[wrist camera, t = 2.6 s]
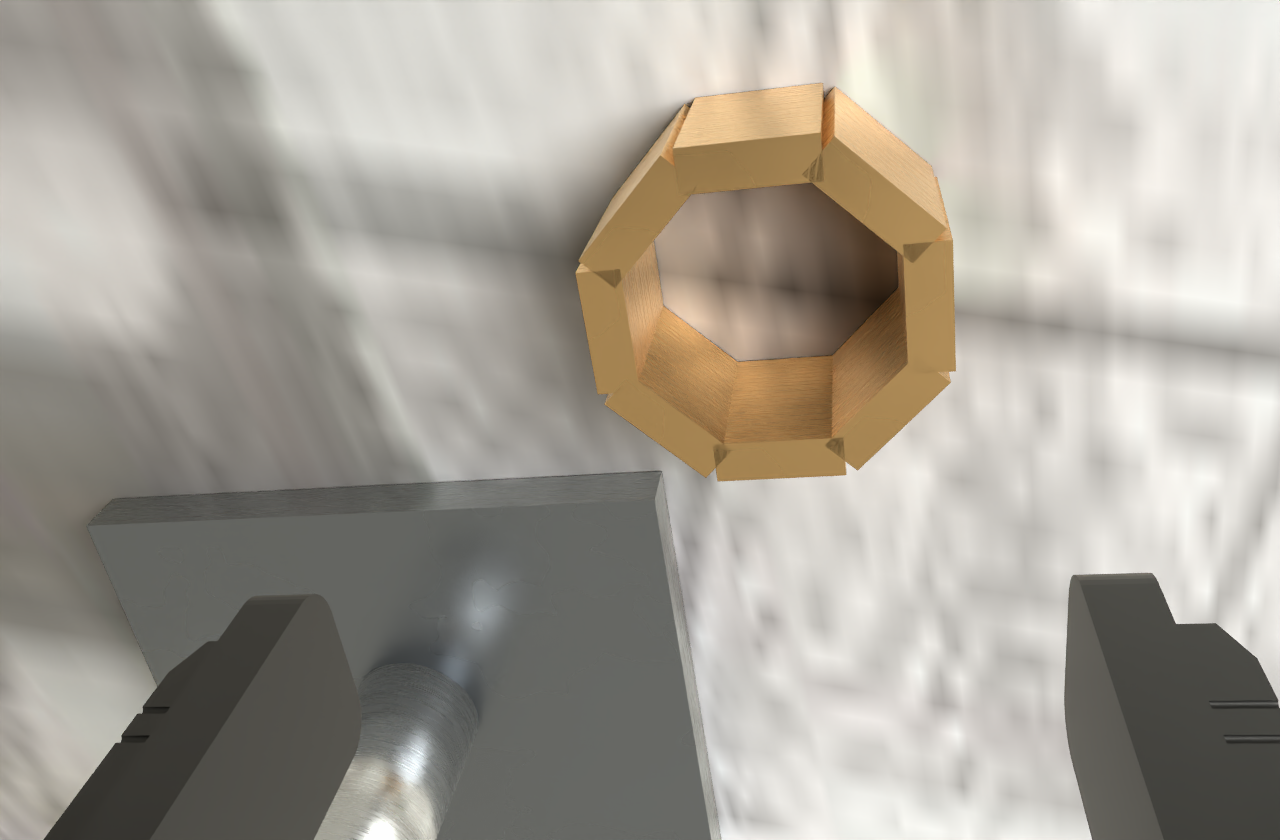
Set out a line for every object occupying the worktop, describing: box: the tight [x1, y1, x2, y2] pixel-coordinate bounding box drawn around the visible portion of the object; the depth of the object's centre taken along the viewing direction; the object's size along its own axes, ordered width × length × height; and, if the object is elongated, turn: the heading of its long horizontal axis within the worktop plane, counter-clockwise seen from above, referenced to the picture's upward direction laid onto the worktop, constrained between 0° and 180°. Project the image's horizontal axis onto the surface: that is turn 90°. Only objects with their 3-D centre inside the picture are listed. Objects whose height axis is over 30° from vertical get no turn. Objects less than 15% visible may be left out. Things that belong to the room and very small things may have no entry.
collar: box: [575, 83, 956, 481], centre depth 21 cm, size 6×6×4 cm
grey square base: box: [86, 471, 721, 840], centre depth 27 cm, size 14×12×7 cm
